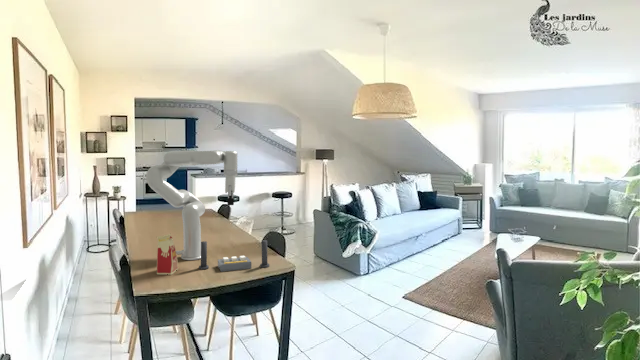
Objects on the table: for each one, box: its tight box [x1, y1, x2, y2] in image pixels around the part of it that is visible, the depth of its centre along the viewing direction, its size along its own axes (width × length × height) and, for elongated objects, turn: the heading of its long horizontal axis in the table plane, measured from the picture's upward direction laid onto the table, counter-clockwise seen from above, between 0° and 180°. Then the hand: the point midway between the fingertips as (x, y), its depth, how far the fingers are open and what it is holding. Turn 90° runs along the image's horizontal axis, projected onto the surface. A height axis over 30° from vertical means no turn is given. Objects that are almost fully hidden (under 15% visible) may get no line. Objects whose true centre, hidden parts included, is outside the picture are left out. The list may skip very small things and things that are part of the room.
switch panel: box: [217, 255, 252, 272], centre depth 213 cm, size 16×10×6 cm, turn 113°
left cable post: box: [198, 240, 209, 270], centre depth 210 cm, size 5×5×14 cm
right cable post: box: [259, 239, 270, 269], centre depth 215 cm, size 5×5×14 cm
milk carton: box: [156, 233, 179, 276], centre depth 203 cm, size 9×9×20 cm
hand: (230, 204), depth 227 cm, fingers closed
